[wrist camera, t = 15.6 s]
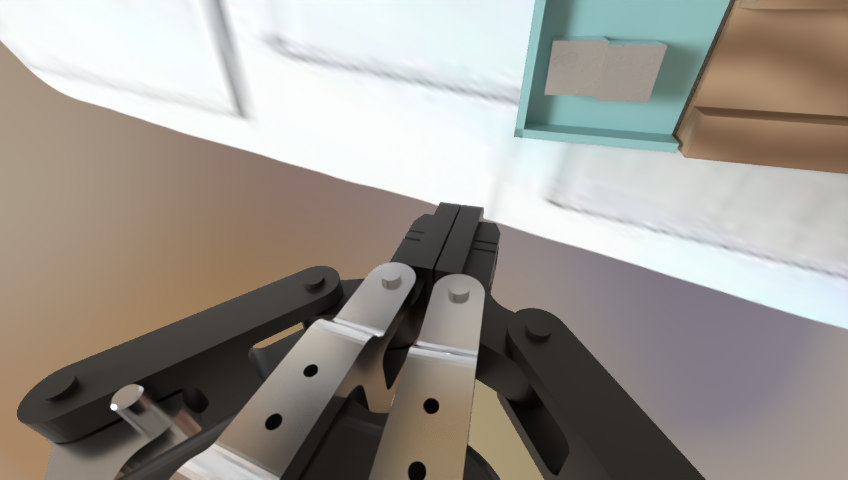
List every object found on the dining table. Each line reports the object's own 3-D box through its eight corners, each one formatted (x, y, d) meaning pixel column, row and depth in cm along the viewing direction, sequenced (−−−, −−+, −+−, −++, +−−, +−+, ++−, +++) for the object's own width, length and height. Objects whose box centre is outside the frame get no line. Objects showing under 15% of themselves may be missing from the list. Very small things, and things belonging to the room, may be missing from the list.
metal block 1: (553, 36, 30) (553, 40, 27) (603, 35, 29) (608, 40, 25) (545, 85, 32) (544, 94, 29) (590, 86, 31) (594, 96, 28)
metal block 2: (602, 39, 29) (607, 45, 26) (654, 39, 28) (667, 45, 25) (590, 89, 31) (593, 100, 28) (638, 91, 30) (647, 102, 27)
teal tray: (544, -47, 27) (543, -51, 25) (750, -53, 24) (771, -59, 21) (516, 127, 35) (513, 136, 33) (666, 141, 32) (675, 152, 30)
